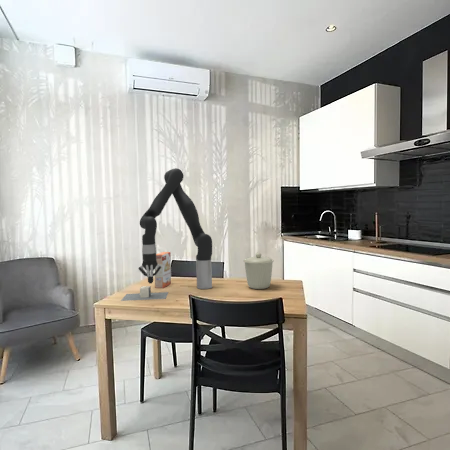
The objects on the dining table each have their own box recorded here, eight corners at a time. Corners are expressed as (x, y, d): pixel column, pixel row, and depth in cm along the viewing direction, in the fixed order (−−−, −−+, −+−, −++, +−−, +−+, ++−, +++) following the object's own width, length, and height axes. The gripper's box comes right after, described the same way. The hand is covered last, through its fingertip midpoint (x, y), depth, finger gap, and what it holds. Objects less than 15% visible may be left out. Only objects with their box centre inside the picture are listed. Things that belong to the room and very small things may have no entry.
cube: (150, 286, 186) (141, 286, 186) (149, 288, 181) (139, 288, 181) (150, 294, 187) (141, 295, 186) (149, 297, 182) (140, 297, 181)
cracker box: (163, 288, 202) (162, 254, 201) (154, 288, 203) (153, 254, 202) (171, 283, 216) (170, 251, 215) (163, 283, 217) (162, 251, 216)
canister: (270, 292, 188) (270, 255, 187) (240, 290, 194) (239, 254, 193) (276, 284, 205) (275, 251, 204) (248, 283, 211) (247, 250, 210)
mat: (168, 292, 192) (168, 292, 192) (165, 299, 178) (165, 298, 178) (126, 294, 190) (126, 293, 190) (120, 301, 176) (120, 300, 176)
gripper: (162, 251, 187) (163, 281, 188) (138, 251, 186) (139, 282, 187) (160, 252, 180) (161, 284, 181) (135, 253, 179) (137, 285, 180)
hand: (150, 283), depth 184 cm, fingers closed
